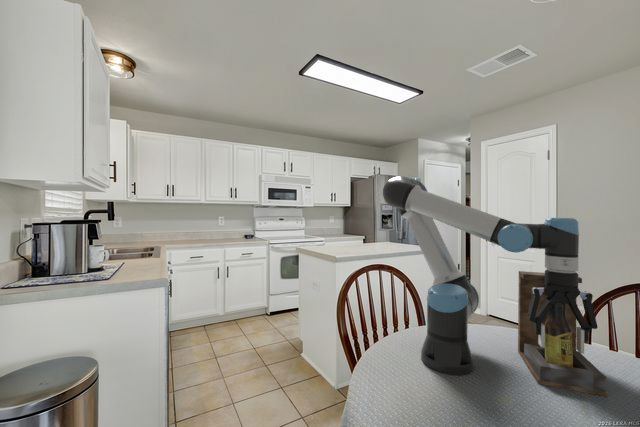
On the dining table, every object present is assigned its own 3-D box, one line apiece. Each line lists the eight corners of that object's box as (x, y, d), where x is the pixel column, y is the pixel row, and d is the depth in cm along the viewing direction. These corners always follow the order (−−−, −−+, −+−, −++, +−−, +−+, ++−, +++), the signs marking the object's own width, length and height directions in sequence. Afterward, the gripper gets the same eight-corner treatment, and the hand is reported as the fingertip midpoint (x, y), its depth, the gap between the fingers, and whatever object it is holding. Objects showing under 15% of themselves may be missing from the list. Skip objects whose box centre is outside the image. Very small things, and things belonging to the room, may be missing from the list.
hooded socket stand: (537, 383, 80) (538, 283, 80) (517, 351, 98) (518, 271, 98) (608, 396, 74) (609, 289, 74) (573, 360, 93) (573, 274, 93)
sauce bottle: (567, 379, 80) (563, 306, 81) (541, 369, 85) (537, 301, 86) (578, 373, 83) (574, 303, 84) (552, 364, 88) (549, 298, 89)
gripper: (521, 269, 84) (520, 347, 84) (616, 276, 77) (615, 361, 76) (514, 265, 91) (514, 337, 91) (601, 271, 84) (600, 349, 83)
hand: (560, 348), depth 84 cm, fingers open, 8 cm apart
